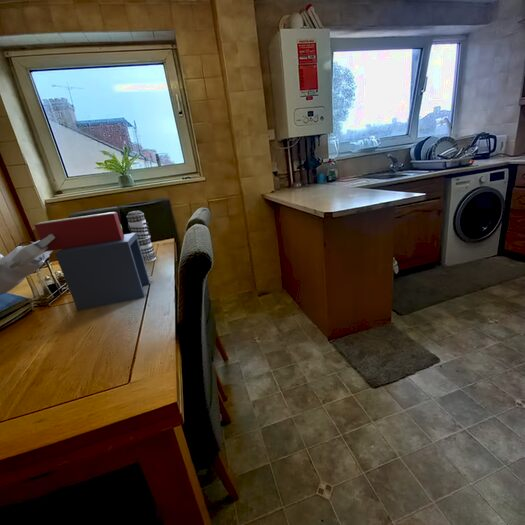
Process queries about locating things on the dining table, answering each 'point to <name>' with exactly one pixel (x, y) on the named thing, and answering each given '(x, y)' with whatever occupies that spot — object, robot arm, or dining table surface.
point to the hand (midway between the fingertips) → (57, 233)
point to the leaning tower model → (141, 234)
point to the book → (81, 230)
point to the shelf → (104, 272)
